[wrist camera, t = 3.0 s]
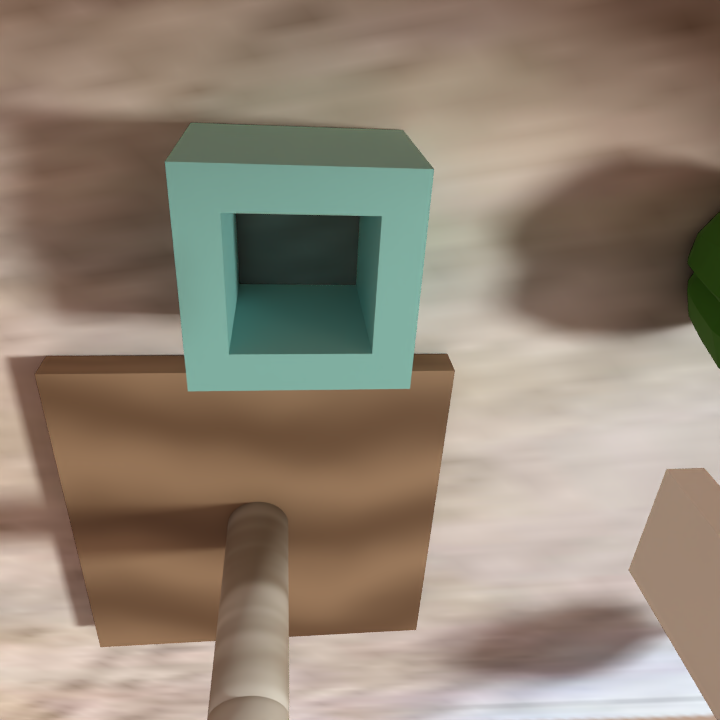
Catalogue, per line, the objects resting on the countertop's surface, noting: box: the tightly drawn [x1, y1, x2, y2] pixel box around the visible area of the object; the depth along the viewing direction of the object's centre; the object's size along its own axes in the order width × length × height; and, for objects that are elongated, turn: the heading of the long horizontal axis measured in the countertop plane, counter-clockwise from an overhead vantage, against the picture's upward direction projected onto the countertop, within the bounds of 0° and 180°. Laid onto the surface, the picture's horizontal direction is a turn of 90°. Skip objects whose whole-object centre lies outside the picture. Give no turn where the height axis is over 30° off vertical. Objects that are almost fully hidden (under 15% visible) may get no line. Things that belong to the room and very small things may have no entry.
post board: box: [35, 354, 455, 720], centre depth 28 cm, size 18×18×13 cm
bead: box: [165, 123, 434, 391], centre depth 24 cm, size 8×8×6 cm
